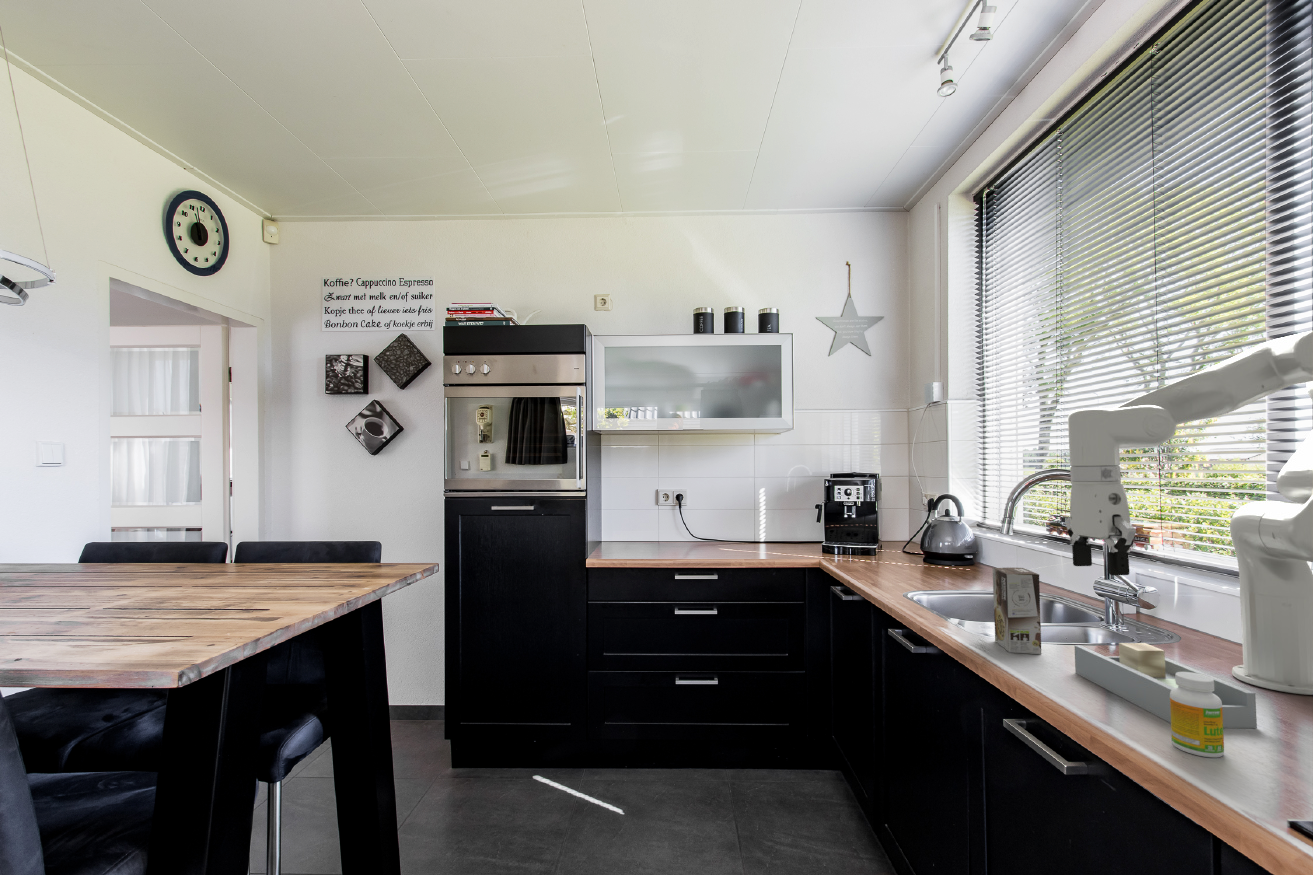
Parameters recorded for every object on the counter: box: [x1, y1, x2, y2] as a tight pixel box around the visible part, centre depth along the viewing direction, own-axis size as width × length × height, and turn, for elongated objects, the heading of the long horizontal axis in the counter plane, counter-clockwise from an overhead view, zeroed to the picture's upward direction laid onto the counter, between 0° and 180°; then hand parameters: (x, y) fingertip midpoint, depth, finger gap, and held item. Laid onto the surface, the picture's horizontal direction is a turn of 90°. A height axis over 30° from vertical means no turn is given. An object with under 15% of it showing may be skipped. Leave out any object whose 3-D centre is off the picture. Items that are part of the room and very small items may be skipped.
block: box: [1118, 642, 1166, 678], centre depth 106 cm, size 4×4×4 cm
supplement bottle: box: [1170, 672, 1225, 759], centre depth 85 cm, size 5×5×10 cm
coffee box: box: [992, 567, 1042, 655], centre depth 132 cm, size 9×6×16 cm
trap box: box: [1074, 644, 1258, 729], centre depth 103 cm, size 11×24×5 cm, turn 178°
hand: (1100, 570), depth 114 cm, fingers open, 9 cm apart
